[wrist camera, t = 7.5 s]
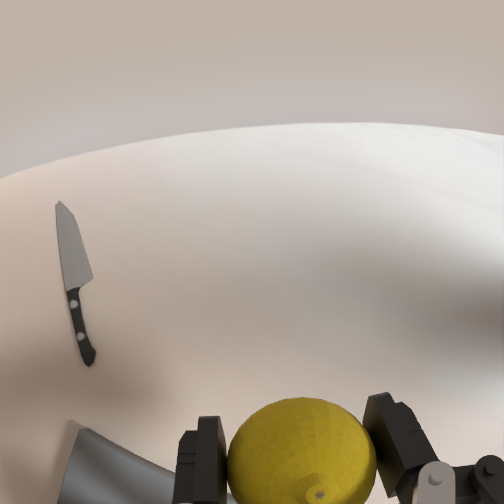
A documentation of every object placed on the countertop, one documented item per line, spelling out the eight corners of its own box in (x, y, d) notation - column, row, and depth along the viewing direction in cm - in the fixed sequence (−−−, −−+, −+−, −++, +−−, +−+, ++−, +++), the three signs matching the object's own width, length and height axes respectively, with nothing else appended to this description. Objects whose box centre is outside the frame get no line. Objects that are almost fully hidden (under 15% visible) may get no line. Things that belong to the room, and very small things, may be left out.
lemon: (306, 509, 12) (343, 586, 5) (212, 462, 13) (176, 520, 6) (362, 423, 14) (443, 442, 7) (270, 376, 15) (284, 363, 8)
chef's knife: (79, 181, 30) (55, 192, 29) (75, 174, 29) (51, 185, 28) (119, 357, 23) (87, 368, 22) (114, 355, 22) (81, 367, 21)
